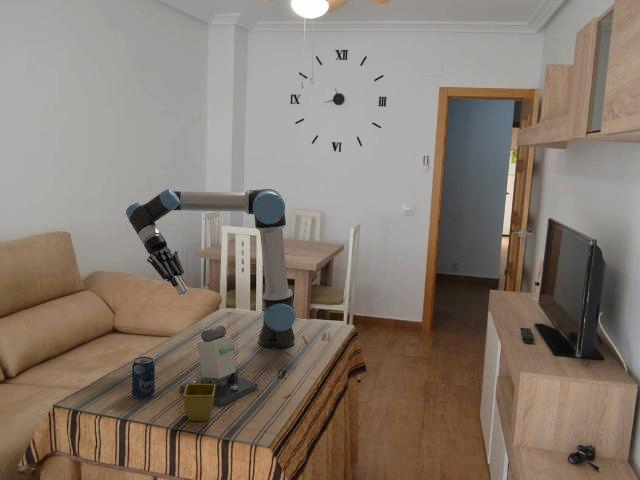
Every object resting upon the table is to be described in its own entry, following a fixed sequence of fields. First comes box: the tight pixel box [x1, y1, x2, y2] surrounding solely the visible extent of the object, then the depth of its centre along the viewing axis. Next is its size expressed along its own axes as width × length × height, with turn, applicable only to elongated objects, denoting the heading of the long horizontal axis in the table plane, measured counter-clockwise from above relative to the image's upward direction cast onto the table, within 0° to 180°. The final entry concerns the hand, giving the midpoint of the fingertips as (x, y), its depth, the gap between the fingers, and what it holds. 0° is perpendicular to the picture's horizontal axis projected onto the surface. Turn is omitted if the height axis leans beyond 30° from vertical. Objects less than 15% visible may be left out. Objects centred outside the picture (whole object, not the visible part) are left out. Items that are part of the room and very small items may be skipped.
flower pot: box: [182, 384, 216, 422], centre depth 179 cm, size 9×9×9 cm
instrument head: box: [196, 325, 237, 384], centre depth 199 cm, size 10×10×18 cm
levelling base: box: [179, 368, 259, 408], centre depth 200 cm, size 18×18×6 cm
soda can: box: [131, 356, 156, 400], centre depth 192 cm, size 7×7×12 cm
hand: (184, 292), depth 214 cm, fingers closed
